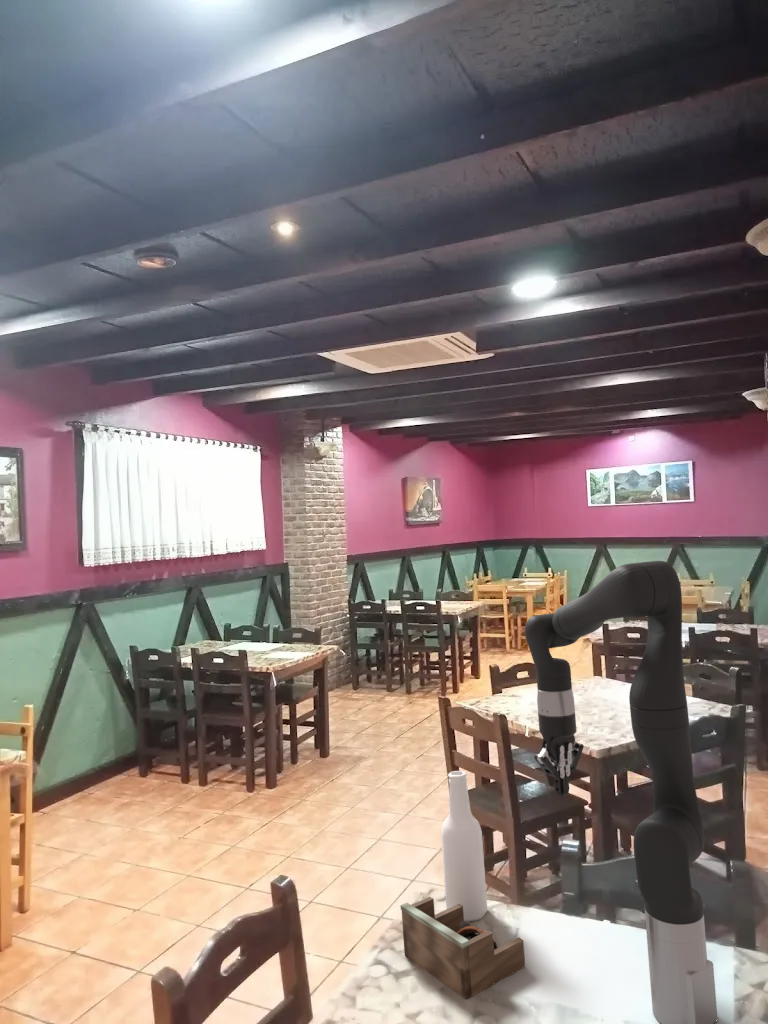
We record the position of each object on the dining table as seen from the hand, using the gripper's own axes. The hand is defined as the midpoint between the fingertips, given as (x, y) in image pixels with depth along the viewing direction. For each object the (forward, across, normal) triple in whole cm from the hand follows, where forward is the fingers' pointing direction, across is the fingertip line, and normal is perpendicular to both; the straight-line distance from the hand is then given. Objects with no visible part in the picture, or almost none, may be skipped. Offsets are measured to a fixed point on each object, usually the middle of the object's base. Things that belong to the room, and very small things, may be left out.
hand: (562, 794), depth 152 cm
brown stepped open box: (+27, -24, +6) cm, 37 cm away
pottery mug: (+27, -24, +4) cm, 36 cm away
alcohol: (+27, -12, +19) cm, 35 cm away
